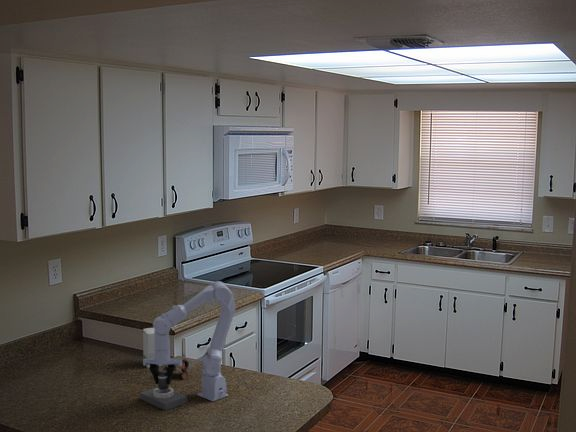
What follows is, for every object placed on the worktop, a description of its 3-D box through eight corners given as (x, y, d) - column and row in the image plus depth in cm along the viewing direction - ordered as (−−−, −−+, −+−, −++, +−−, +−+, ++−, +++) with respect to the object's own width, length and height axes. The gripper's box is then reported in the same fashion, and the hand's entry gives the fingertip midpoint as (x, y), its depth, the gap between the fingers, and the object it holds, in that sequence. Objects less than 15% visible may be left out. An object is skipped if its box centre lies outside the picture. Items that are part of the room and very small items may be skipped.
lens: (171, 387, 255) (170, 372, 254) (162, 390, 251) (162, 375, 251) (164, 384, 257) (163, 369, 256) (155, 387, 254) (155, 372, 253)
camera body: (187, 402, 253) (186, 392, 252) (165, 410, 246) (165, 400, 245) (162, 391, 264) (161, 381, 263) (140, 398, 257) (140, 388, 256)
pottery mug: (181, 383, 273) (170, 367, 273) (167, 389, 279) (156, 372, 278) (198, 367, 283) (187, 351, 283) (183, 373, 289) (173, 357, 288)
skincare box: (143, 362, 298) (142, 328, 296) (157, 360, 300) (156, 326, 298) (147, 368, 290) (146, 333, 288) (162, 366, 293) (161, 331, 291)
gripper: (183, 345, 256) (184, 380, 257) (146, 345, 257) (147, 379, 258) (179, 351, 249) (180, 387, 250) (140, 350, 250) (141, 386, 251)
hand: (163, 383), depth 254 cm, fingers closed on lens, 4 cm apart
